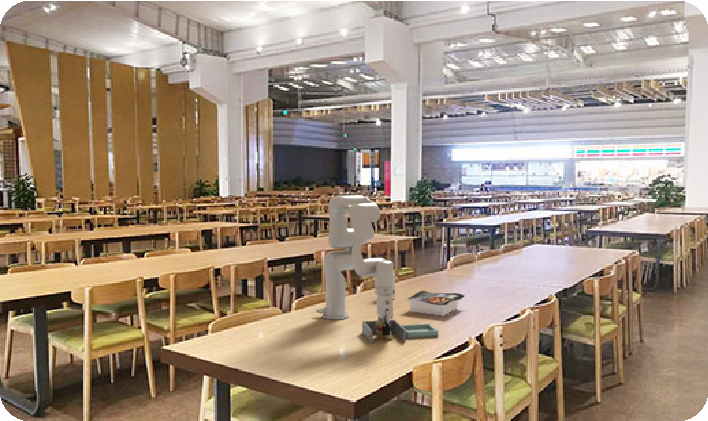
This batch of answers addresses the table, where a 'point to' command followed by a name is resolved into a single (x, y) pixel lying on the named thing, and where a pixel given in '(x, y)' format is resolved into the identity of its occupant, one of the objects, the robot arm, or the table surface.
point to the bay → (370, 328)
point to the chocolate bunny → (379, 330)
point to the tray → (420, 331)
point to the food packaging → (434, 302)
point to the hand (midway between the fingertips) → (383, 332)
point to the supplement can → (393, 286)
